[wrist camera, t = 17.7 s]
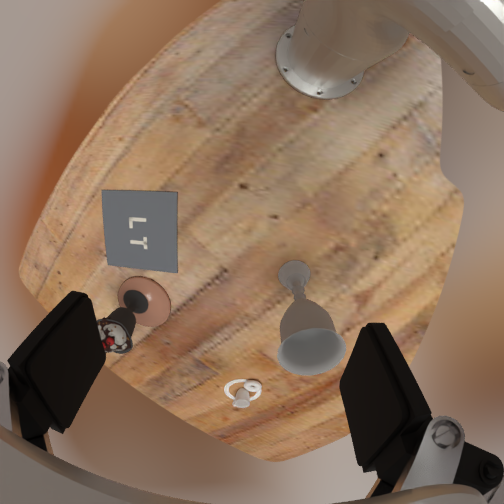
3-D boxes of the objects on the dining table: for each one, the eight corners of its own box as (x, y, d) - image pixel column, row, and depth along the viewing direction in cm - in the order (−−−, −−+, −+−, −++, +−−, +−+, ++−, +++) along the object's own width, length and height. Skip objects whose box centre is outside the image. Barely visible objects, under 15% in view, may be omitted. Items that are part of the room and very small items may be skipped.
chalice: (266, 289, 45) (269, 371, 28) (277, 250, 42) (287, 322, 25) (309, 297, 45) (331, 377, 28) (322, 260, 42) (356, 332, 26)
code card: (102, 189, 39) (101, 190, 39) (177, 192, 39) (177, 192, 39) (108, 264, 44) (107, 265, 44) (177, 272, 44) (177, 273, 44)
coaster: (116, 273, 44) (114, 275, 44) (169, 279, 44) (168, 282, 44) (124, 319, 48) (122, 321, 47) (172, 327, 48) (171, 330, 48)
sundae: (147, 284, 44) (110, 341, 30) (156, 317, 47) (126, 377, 33) (115, 284, 44) (72, 336, 30) (125, 316, 47) (90, 371, 33)
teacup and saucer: (256, 373, 53) (256, 387, 49) (270, 394, 55) (270, 408, 52) (218, 381, 54) (215, 396, 50) (233, 402, 57) (232, 416, 53)
